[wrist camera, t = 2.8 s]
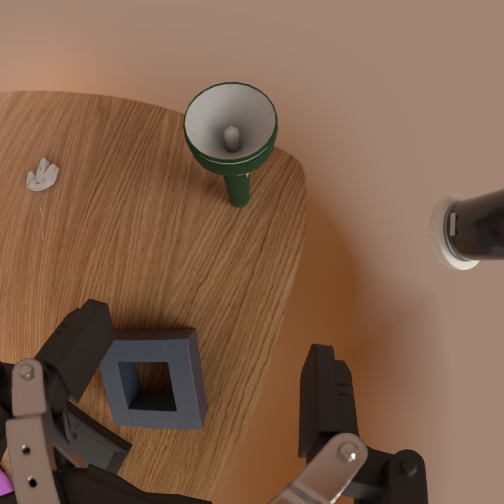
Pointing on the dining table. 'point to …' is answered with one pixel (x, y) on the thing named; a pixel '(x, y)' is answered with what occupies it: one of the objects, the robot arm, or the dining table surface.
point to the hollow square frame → (153, 404)
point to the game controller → (42, 178)
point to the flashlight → (231, 133)
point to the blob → (5, 484)
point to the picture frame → (96, 441)
